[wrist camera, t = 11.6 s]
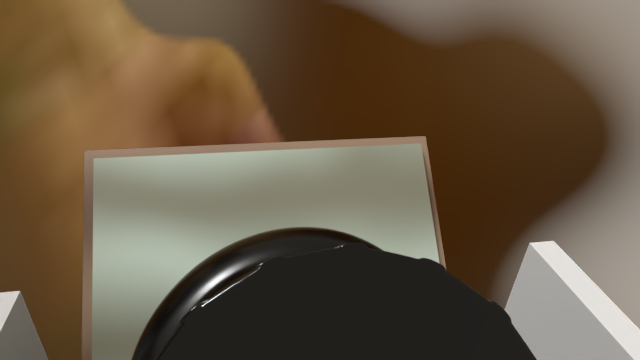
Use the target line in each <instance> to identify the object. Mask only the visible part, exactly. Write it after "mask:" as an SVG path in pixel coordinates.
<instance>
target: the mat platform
mask: <svg viewBox="0 0 640 360" xmlns="http://www.w3.org/2000/svg"><path fill="white" fill-rule="evenodd" d="M290 227H319V228H327V229H333V230H337V231H341V232H345V233H348V234H351V235H354V236H357V237H359V238H362V239H364V240H366V241H368V242H370V243H372V244H374V245H375V246H377V247H379V248H380V249H382V250H384V251H387V252H391V253H396V254H400V255H405V256H409V257H413V258H416V259H418V258H428V259H431V260H433V261H436V262H438V263H440V264H441V265H443V266H444V267H445V268H446V264H445V258H444V251H443V245H442V239H441V233H440V226H439V220H438V213H437V207H436V200H435V194H434V188H433V181H432V175H431V168H430V163H429V156H428V149H427V144H426V137H425V136H420V137H397V138H373V139H349V140H327V141H303V142H279V143H255V144H232V145H208V146H185V147H161V148H138V149H114V150H91V151H84V217H83V290H82V360H131V359H132V356H133V353H134V350H135V348H136V345H137V343H138V340H139V338H140V336H141V334H142V332H143V330H144V328H145V326H146V324H147V322H148V321H149V319H150V317H151V316H152V314H153V313H154V311H155V310H156V308H157V307H158V305H159V304H160V303H161V301H162V300H163V299H164V298H165V296H166V295H167V294H168V293H169V291H170V290H171V289H172V288H173V287H174V286H175V285H176V284H177V283H178V282H179V281H180V280H181V279H182V278H183V277H184V276H185V275H186V274H187V273H188V272H189V271H191V270H192V269H193V268H194V267H195V266H197V265H198V264H199V263H201V262H202V261H203V260H205V259H206V258H208V257H209V256H211V255H212V254H214V253H215V252H217V251H219V250H220V249H222V248H224V247H226V246H228V245H230V244H232V243H234V242H236V241H239V240H241V239H244V238H246V237H249V236H252V235H255V234H258V233H262V232H266V231H270V230H275V229H281V228H290Z"/></svg>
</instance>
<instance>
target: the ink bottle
mask: <svg viewBox="0 0 640 360" xmlns="http://www.w3.org/2000/svg"><path fill="white" fill-rule="evenodd" d="M131 360H536V358H535V357H534V355H533V354H532V352H531V351H530V349H529V348H528V346H527V345H526V343H525V342H524V340H523V339H522V337H521V336H520V335H519V333H518V332H517V330H516V329H515V328H514V326H513V325H512V323H511V318H510V316H509V315H508V314H507V312H506V311H505V310H504V309H503V308H502V307H501V306H500V305H498V304H497V303H496V302H493V301H488V300H487V299H486V298H484V297H483V296H482V295H480V294H479V293H478V292H476V291H475V290H473V289H472V288H471V287H469V286H468V285H466V284H465V283H463V282H462V281H460V280H459V279H457V278H456V277H455V276H453V275H451V274H450V273H448V272H447V271H446V268H445V267H444V266H443V265H441V264H440V263H438V262H436V261H433V260H431V259H428V258H418V259H416V258H413V257H409V256H405V255H400V254H396V253H391V252H387V251H384V250H382V249H380V248H379V247H377V246H375V245H374V244H372V243H370V242H368V241H366V240H364V239H362V238H359V237H357V236H354V235H351V234H348V233H345V232H341V231H337V230H333V229H327V228H319V227H290V228H281V229H275V230H270V231H266V232H262V233H258V234H255V235H252V236H249V237H246V238H244V239H241V240H239V241H236V242H234V243H232V244H230V245H228V246H226V247H224V248H222V249H220V250H219V251H217V252H215V253H214V254H212V255H211V256H209V257H208V258H206V259H205V260H203V261H202V262H201V263H199V264H198V265H197V266H195V267H194V268H193V269H192V270H191V271H189V272H188V273H187V274H186V275H185V276H184V277H183V278H182V279H181V280H180V281H179V282H178V283H177V284H176V285H175V286H174V287H173V288H172V289H171V290H170V291H169V293H168V294H167V295H166V296H165V298H164V299H163V300H162V301H161V303H160V304H159V305H158V307H157V308H156V310H155V311H154V313H153V314H152V316H151V317H150V319H149V321H148V322H147V324H146V326H145V328H144V330H143V332H142V334H141V336H140V338H139V340H138V343H137V345H136V348H135V350H134V353H133V356H132V359H131Z"/></svg>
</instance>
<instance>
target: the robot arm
mask: <svg viewBox="0 0 640 360" xmlns="http://www.w3.org/2000/svg"><path fill="white" fill-rule="evenodd" d="M505 311H506V312H507V314H508V315H509V316H510V318H511V322H512V323H513V325H514V326H515V328H516V329H517V331H518V332H519V334H520V335H521V337H522V338H523V339H524V341H525V342H526V344H527V345H528V347H529V348H530V350H531V351H532V352H533V354H534V355H535V357H536V358H537V360H640V330H639V329H638V328H637V326H636V325H635V324H634V323H632V321H631V320H630V319H629V318H628V317H627V316H626V315H625V314H624V313H623V312H622V311H621V310H620V309H619V308H618V307H617V306H616V305H615V304H614V303H613V302H612V301H611V300H610V299H609V298H608V297H607V296H606V295H605V293H604V292H603V291H602V290H601V289H600V288H599V287H598V286H597V285H596V284H595V283H594V282H593V281H592V280H591V279H590V278H589V277H588V276H587V275H586V274H585V273H584V272H583V271H582V270H581V269H580V268H579V267H578V266H577V265H576V264H575V263H574V262H573V261H572V259H570V257H568V255H567V254H566V253H565V252H564V251H563V250H562V249H561V248H560V247H559V246H558V245H557V244H556V243H555V242H554V241H547V242H535V243H529V246H528V248H527V251H526V254H525V256H524V259H523V262H522V264H521V267H520V270H519V272H518V275H517V278H516V280H515V283H514V286H513V288H512V291H511V294H510V296H509V299H508V302H507V305H506V307H505ZM0 360H48V357H47V355H46V352H45V350H44V348H43V345H42V343H41V340H40V338H39V335H38V333H37V330H36V328H35V326H34V323H33V321H32V318H31V316H30V313H29V311H28V308H27V306H26V303H25V301H24V299H23V296H22V294H21V291H13V292H2V293H0Z"/></svg>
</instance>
